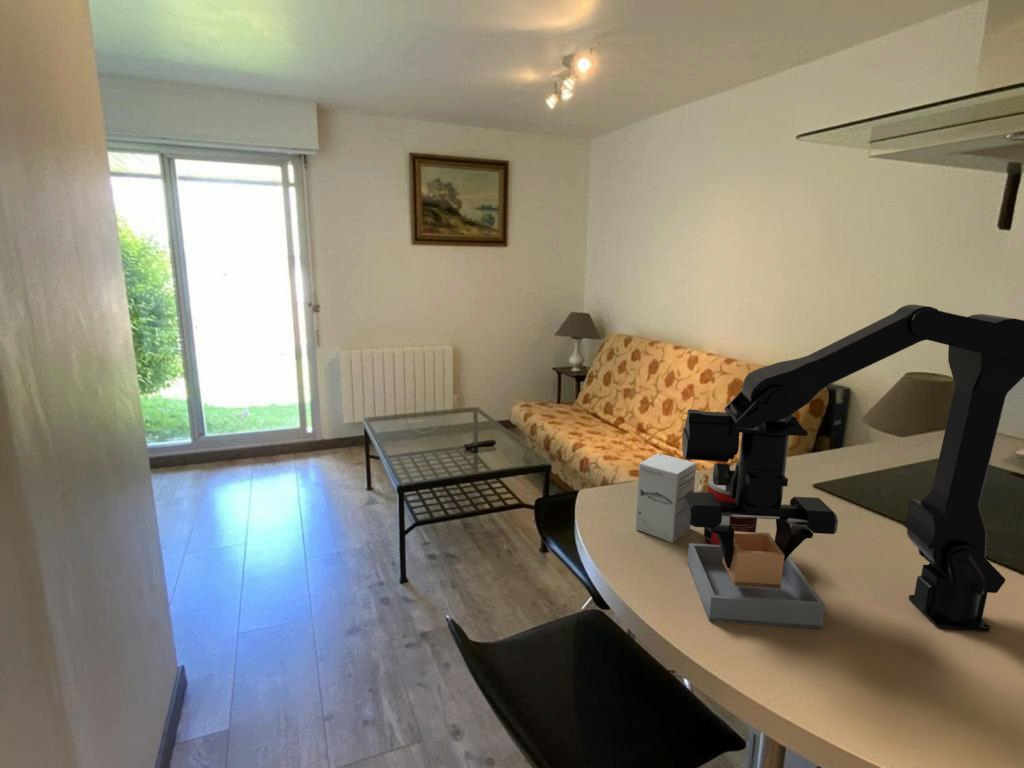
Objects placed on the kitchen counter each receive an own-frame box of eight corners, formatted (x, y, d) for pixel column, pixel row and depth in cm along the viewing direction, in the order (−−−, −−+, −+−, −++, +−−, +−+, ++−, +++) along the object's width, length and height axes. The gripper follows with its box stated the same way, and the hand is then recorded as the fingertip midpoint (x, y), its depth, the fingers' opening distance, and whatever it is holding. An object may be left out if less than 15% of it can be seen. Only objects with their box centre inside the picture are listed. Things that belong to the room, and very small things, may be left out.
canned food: (712, 528, 96) (717, 470, 93) (759, 543, 91) (766, 481, 88) (695, 545, 90) (701, 483, 87) (745, 562, 85) (752, 497, 82)
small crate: (765, 564, 79) (768, 533, 78) (780, 588, 73) (784, 554, 72) (722, 562, 79) (725, 530, 78) (734, 585, 73) (737, 552, 72)
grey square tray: (781, 569, 83) (783, 548, 82) (821, 629, 69) (825, 605, 68) (687, 563, 84) (689, 543, 84) (709, 621, 71) (711, 597, 70)
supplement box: (633, 530, 95) (637, 462, 92) (654, 516, 100) (658, 451, 98) (672, 544, 90) (677, 473, 87) (692, 529, 95) (697, 461, 93)
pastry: (745, 490, 112) (747, 473, 111) (749, 504, 106) (751, 486, 105) (697, 485, 115) (699, 468, 114) (698, 498, 108) (700, 480, 108)
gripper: (809, 446, 79) (797, 542, 83) (679, 441, 81) (672, 536, 85) (846, 474, 68) (831, 584, 72) (695, 468, 71) (687, 576, 74)
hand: (751, 567), depth 76 cm, fingers closed on small crate, 6 cm apart
